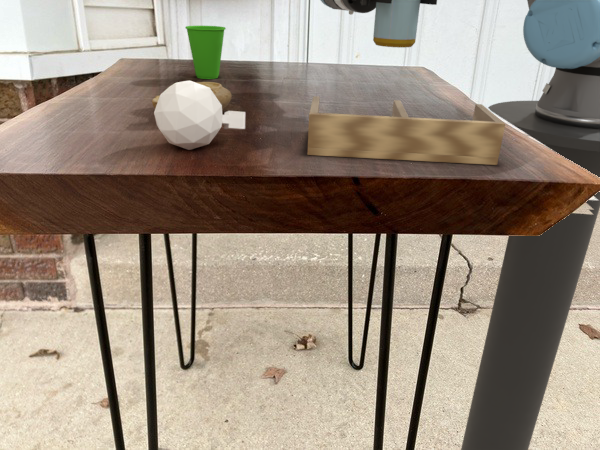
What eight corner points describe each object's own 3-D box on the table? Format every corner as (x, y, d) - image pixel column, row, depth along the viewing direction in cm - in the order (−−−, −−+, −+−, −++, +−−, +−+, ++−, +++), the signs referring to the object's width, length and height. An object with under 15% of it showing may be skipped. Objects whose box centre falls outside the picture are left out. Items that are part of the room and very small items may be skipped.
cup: (229, 80, 120) (228, 29, 116) (189, 80, 118) (186, 28, 114) (224, 74, 128) (223, 25, 124) (186, 74, 126) (183, 25, 121)
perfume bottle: (159, 147, 65) (252, 151, 70) (159, 71, 64) (253, 80, 69) (148, 149, 73) (233, 153, 77) (149, 81, 72) (234, 90, 77)
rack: (475, 140, 80) (482, 104, 78) (497, 165, 69) (505, 123, 67) (311, 132, 81) (313, 96, 79) (307, 155, 70) (309, 114, 68)
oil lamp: (149, 125, 82) (146, 92, 79) (179, 105, 94) (177, 77, 92) (216, 129, 81) (215, 96, 78) (237, 109, 94) (236, 80, 91)
